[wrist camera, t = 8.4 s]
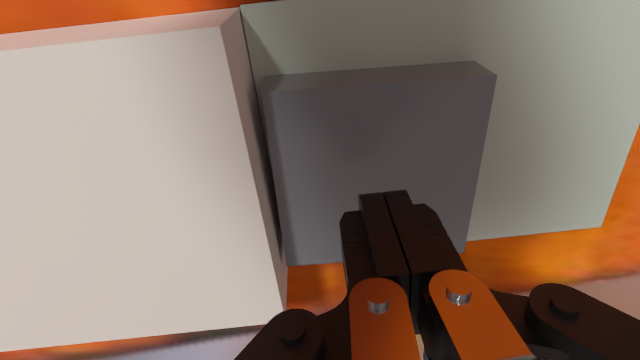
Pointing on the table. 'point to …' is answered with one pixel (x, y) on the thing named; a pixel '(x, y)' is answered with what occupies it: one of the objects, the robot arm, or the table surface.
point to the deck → (134, 183)
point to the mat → (510, 90)
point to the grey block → (374, 146)
